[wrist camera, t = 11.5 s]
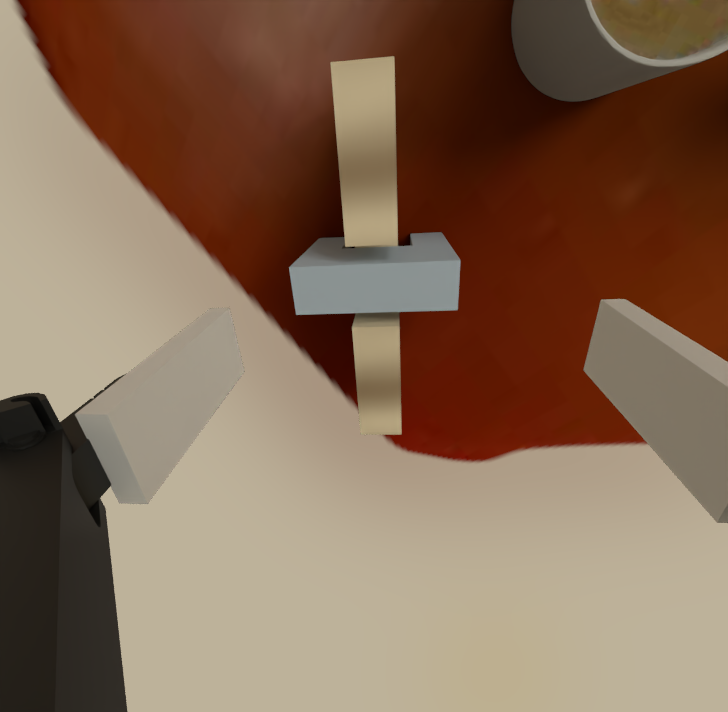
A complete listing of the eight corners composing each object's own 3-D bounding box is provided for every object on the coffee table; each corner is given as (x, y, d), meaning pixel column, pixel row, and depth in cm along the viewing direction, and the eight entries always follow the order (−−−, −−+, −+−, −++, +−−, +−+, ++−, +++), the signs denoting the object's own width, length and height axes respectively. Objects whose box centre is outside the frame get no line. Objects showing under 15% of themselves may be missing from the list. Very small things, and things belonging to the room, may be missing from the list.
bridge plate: (319, 238, 31) (288, 267, 22) (441, 232, 30) (460, 260, 21) (323, 273, 32) (295, 314, 24) (440, 269, 32) (457, 310, 23)
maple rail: (352, 96, 26) (330, 62, 18) (394, 92, 26) (394, 56, 17) (369, 368, 36) (360, 434, 28) (400, 368, 36) (401, 434, 27)
